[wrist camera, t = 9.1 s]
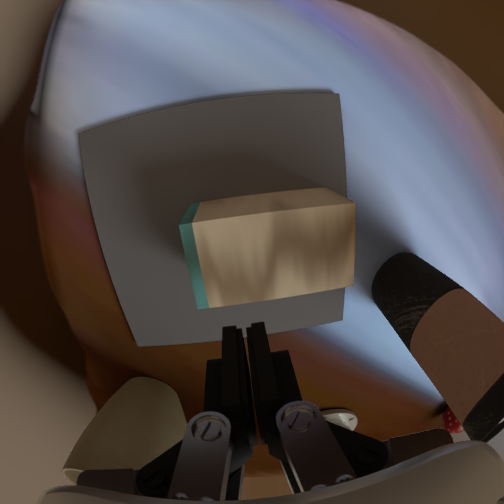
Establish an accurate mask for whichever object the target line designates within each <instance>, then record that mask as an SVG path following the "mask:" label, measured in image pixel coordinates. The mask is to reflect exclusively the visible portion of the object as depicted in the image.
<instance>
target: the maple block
mask: <svg viewBox="0 0 504 504" xmlns="http://www.w3.org/2000/svg"><path fill="white" fill-rule="evenodd" d="M179 228H180V233H181V238H182V243H183V248H184V252H185V257H186V261H187V266H188V270H189V275H190V279H191V283H192V287H193V292H194V296H195V300H196V304H197V308H198V309H205V308H214V307H222V306H230V305H237V304H245V303H252V302H259V301H266V300H273V299H279V298H286V297H292V296H298V295H304V294H310V293H316V292H322V291H327V290H333V289H338V288H344V287H349V286H353V282H354V266H355V243H356V203H355V202H353V201H351V200H349V199H347V198H345V197H343V196H341V195H339V194H337V193H335V192H333V191H331V190H329V189H327V188H325V187H322V188H311V189H300V190H290V191H281V192H272V193H263V194H255V195H247V196H239V197H232V198H224V199H217V200H211V201H204V202H197V203H191V205H190V206H189V208H188V210H187V211H186V213H185V215H184V217H183V218H182V220H181V222H180V224H179Z"/></svg>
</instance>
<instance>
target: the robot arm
mask: <svg viewBox="0 0 504 504" xmlns="http://www.w3.org/2000/svg"><path fill="white" fill-rule="evenodd" d="M246 333H247V343H248V353H249V362H250V372H251V379H250V372H249V366H248V361H247V355H246V349H245V344H244V338H243V332H242V328H238V329H237V327H236V325H233V326H225V327H222V359H214V360H208V361H207V367H206V381H205V396H204V412H203V413H200V414H198V415H196V416H194V417H193V418H192V419H191V420H190V421H189V423H188V425H187V428H186V431H185V435H184V438H183V439H182V440H181V441H179V442H178V443H176V444H175V445H174V446H172V447H171V448H170V449H168V450H167V451H165V452H164V453H163V454H161V455H160V456H158V457H157V458H155V459H154V460H152V461H151V462H149V463H148V464H146V465H145V466H143V467H142V468H141V469H140V470H134V469H133V468H128V469H102V470H85V471H83V472H81V473H80V475H79V476H78V478H77V485H66V486H58V487H54V488H50V489H48V490H46V491H44V492H43V493H42V494H41V496H40V497H39V499H38V501H37V503H36V504H504V461H503V459H502V458H501V456H500V455H499V454H498V453H497V452H496V451H495V449H493V448H492V447H491V446H490V445H489V444H487V443H485V442H483V441H477V440H470V441H469V440H468V441H461V442H456V443H454V442H453V438H452V436H451V434H450V433H449V432H448V431H447V430H446V429H442V428H435V429H431V430H427V431H422V432H418V433H414V434H409V435H404V436H399V437H393V438H389V440H387V441H379V440H377V439H374V438H371V437H368V436H365V435H363V434H360V433H357V432H354V431H353V430H354V428H355V427H356V425H357V417H356V415H355V413H353V412H352V411H350V410H346V409H332V410H326V411H320V410H319V409H318V407H317V406H316V405H314V404H312V403H310V402H307V401H302V397H301V394H300V390H299V387H298V383H297V380H296V376H295V372H294V369H293V365H292V362H291V358H290V355H289V352H288V350H284V351H278V352H271V353H270V348H269V343H268V338H267V333H266V328H265V323H264V321H263V322H256V323H251V327H246ZM251 381H252V387H251ZM252 390H253V397H252ZM253 398H254V405H255V410H256V415H257V421H258V426H259V431H260V435H261V440H262V444H268V448H269V454H270V455H272V456H274V457H275V458H277V459H279V460H280V463H281V465H282V468H283V470H284V473H285V476H286V478H287V481H288V483H289V486H290V488H291V491H292V493H293V494H291V495H284V496H277V497H271V498H261V499H251V500H241V496H242V487H243V478H244V469H245V464H244V463H245V462H246V461H247V460H248V459H250V458H251V457H252V453H253V446H254V445H258V442H257V433H256V424H255V415H254V406H253Z"/></svg>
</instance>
